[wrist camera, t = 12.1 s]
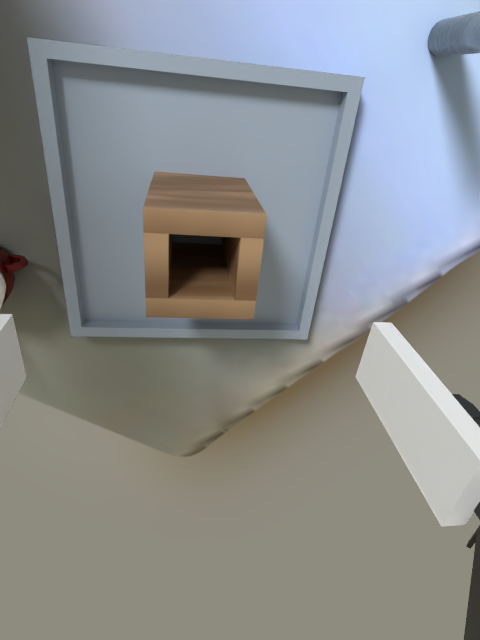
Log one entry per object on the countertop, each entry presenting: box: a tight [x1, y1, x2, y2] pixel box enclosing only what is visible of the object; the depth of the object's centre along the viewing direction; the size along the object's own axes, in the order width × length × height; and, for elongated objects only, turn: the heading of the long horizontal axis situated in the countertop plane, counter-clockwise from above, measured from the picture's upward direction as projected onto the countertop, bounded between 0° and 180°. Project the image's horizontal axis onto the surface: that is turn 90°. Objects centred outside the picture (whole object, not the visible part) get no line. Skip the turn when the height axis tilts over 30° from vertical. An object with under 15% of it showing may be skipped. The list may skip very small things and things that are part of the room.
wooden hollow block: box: [143, 172, 267, 319], centre depth 29 cm, size 9×7×10 cm
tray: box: [27, 37, 365, 339], centre depth 32 cm, size 22×22×2 cm
